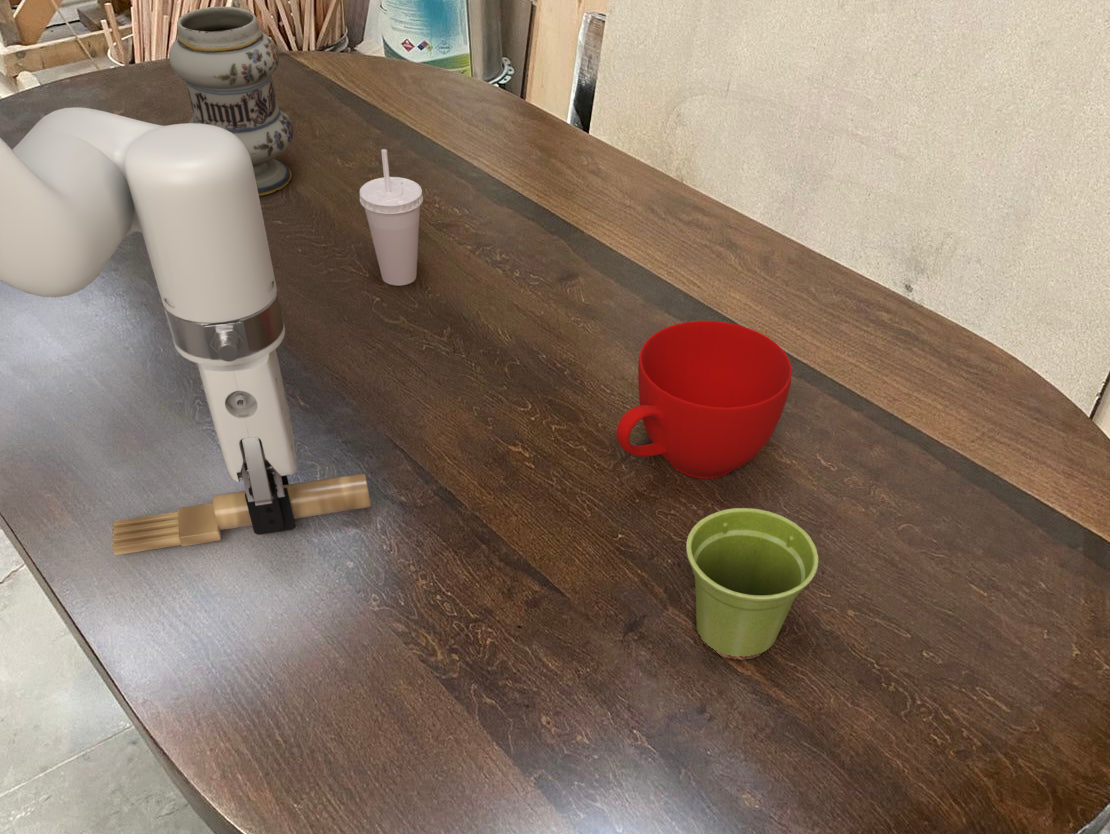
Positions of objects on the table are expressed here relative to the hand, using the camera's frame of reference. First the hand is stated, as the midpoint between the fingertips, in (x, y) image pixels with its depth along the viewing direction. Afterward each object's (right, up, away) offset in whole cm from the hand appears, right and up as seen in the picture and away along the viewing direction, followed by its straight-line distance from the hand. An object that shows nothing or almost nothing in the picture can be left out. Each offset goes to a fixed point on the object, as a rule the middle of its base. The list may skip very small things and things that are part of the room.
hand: (273, 513), depth 87 cm
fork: (-2, -1, 0) cm, 2 cm away
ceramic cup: (+34, +5, +9) cm, 36 cm away
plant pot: (+37, -10, -4) cm, 39 cm away
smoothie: (+5, +28, +29) cm, 40 cm away
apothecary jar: (-16, +44, +42) cm, 63 cm away
